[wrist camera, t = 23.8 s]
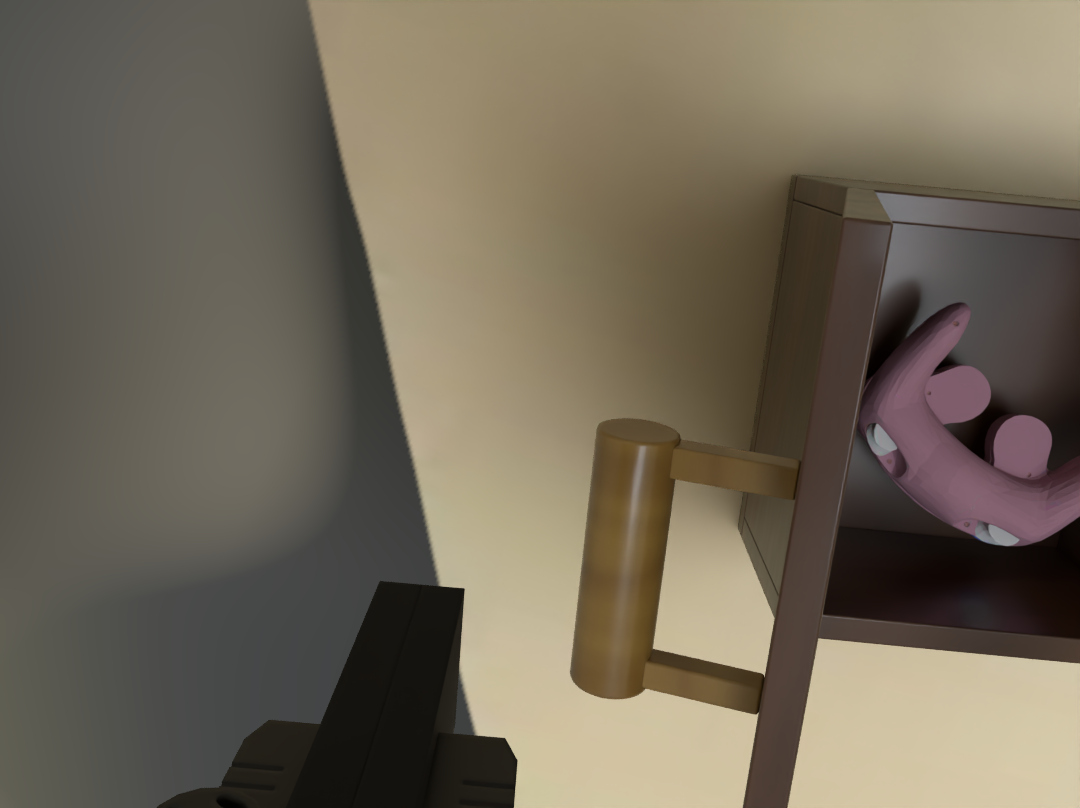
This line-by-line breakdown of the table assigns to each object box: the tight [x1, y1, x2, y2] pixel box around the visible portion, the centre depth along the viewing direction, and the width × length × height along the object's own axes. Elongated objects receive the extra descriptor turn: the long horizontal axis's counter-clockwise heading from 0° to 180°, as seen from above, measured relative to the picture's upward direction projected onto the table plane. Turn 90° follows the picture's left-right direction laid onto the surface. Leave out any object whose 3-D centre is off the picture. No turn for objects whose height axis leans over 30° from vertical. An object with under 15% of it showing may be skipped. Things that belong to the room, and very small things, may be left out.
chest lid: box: [570, 188, 893, 808], centre depth 27 cm, size 16×16×5 cm
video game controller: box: [857, 302, 1080, 546], centre depth 40 cm, size 10×5×7 cm
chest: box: [738, 174, 1080, 663], centre depth 39 cm, size 15×16×10 cm
